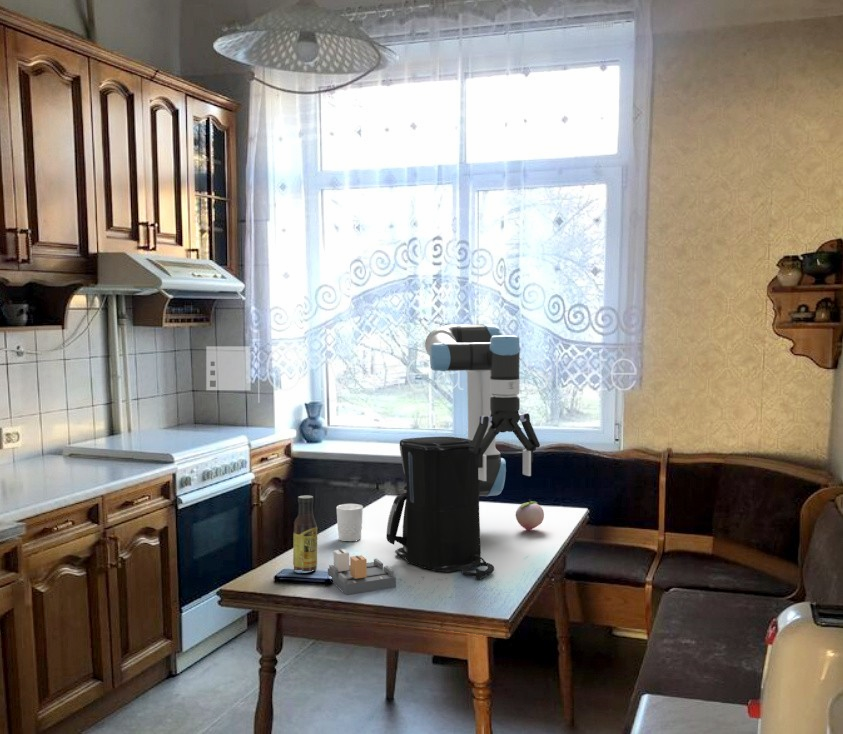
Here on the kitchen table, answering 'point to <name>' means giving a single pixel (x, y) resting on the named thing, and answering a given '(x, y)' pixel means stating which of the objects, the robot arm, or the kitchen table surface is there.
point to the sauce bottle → (305, 536)
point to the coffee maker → (439, 506)
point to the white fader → (341, 560)
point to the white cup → (349, 521)
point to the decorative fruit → (530, 515)
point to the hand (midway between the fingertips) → (504, 477)
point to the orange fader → (358, 566)
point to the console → (373, 581)
